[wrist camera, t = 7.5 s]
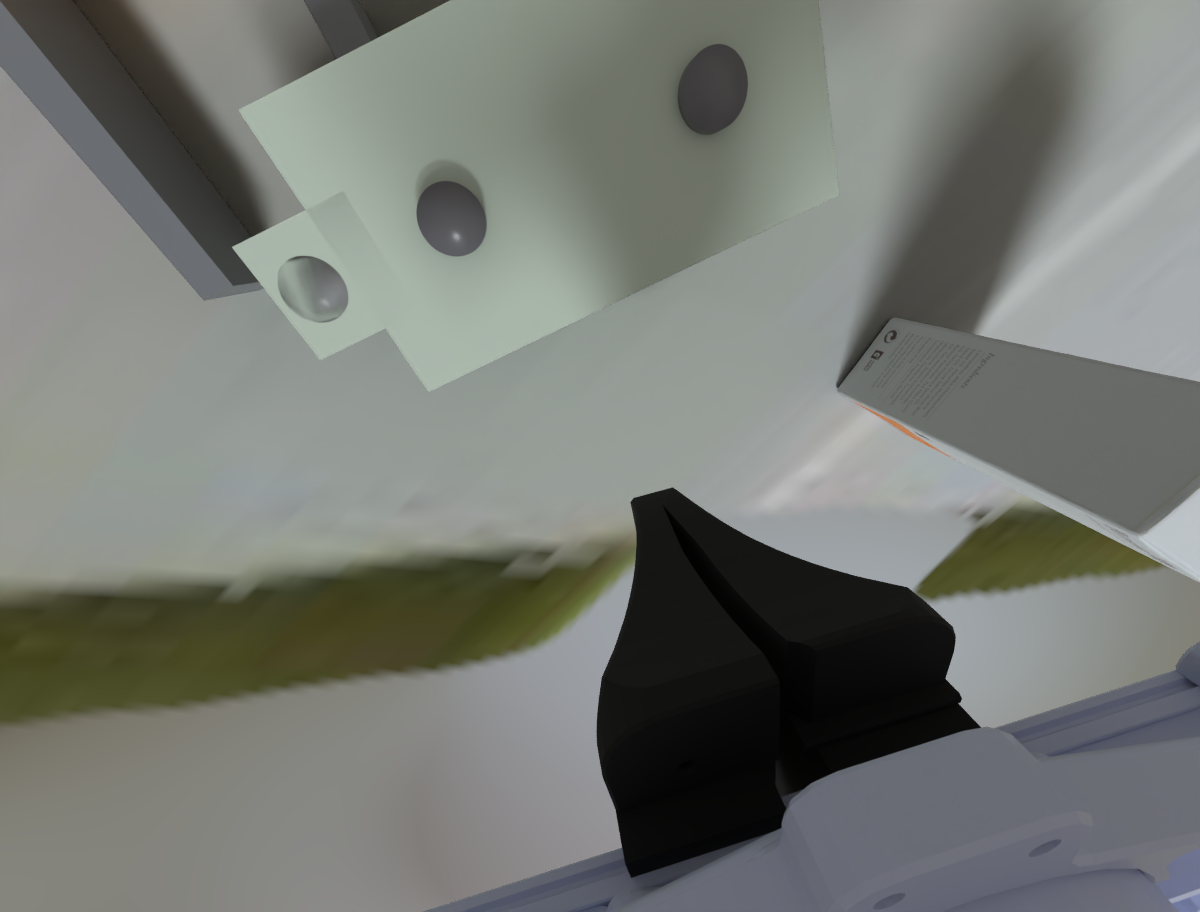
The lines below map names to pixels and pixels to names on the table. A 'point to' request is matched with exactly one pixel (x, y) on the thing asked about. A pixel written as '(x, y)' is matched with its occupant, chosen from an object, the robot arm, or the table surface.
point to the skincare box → (1049, 429)
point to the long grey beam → (141, 132)
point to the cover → (534, 166)
